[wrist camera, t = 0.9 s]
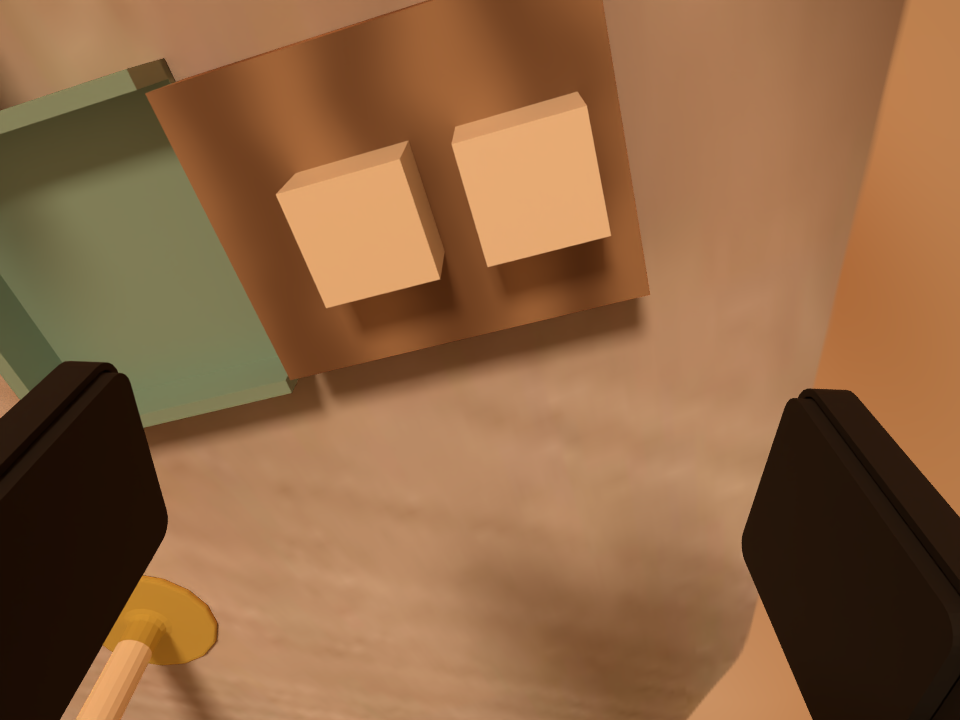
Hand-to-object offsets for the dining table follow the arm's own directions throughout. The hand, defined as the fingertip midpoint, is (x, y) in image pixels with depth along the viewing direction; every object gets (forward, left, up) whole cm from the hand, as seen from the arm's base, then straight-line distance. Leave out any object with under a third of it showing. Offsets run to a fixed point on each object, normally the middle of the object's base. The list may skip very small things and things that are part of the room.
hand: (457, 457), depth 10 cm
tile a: (-2, +2, -20) cm, 20 cm away
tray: (+20, +2, -24) cm, 31 cm away
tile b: (+5, +2, -20) cm, 21 cm away
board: (+3, +2, -24) cm, 24 cm away
